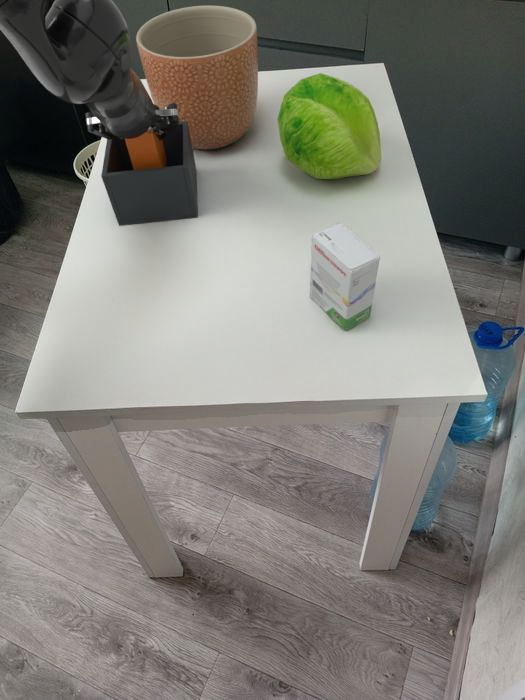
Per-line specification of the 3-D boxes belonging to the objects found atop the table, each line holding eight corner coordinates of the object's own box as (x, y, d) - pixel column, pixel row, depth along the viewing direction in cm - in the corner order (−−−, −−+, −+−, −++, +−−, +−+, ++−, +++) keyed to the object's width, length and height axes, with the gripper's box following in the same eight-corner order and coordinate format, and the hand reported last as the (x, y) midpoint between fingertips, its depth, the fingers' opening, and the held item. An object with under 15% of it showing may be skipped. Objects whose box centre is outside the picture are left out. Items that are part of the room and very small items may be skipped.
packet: (139, 189, 85) (123, 134, 77) (142, 161, 90) (126, 106, 82) (166, 186, 85) (152, 130, 77) (166, 159, 90) (153, 103, 82)
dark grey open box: (118, 225, 87) (101, 176, 80) (124, 178, 96) (108, 128, 88) (197, 217, 88) (188, 167, 80) (196, 170, 96) (187, 120, 88)
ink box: (371, 316, 73) (383, 255, 63) (344, 332, 71) (351, 272, 62) (334, 281, 77) (339, 219, 68) (308, 295, 76) (309, 234, 66)
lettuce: (350, 219, 87) (413, 138, 79) (251, 150, 83) (306, 57, 74) (349, 188, 101) (402, 116, 93) (264, 128, 97) (311, 47, 88)
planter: (138, 139, 103) (110, 37, 88) (210, 96, 112) (196, -4, 96) (212, 176, 94) (196, 70, 79) (283, 126, 103) (281, 21, 88)
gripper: (169, 64, 67) (185, 106, 84) (60, 76, 67) (98, 116, 84) (177, 124, 68) (191, 154, 85) (70, 136, 68) (105, 163, 85)
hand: (145, 135), depth 84 cm, fingers closed on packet, 4 cm apart
